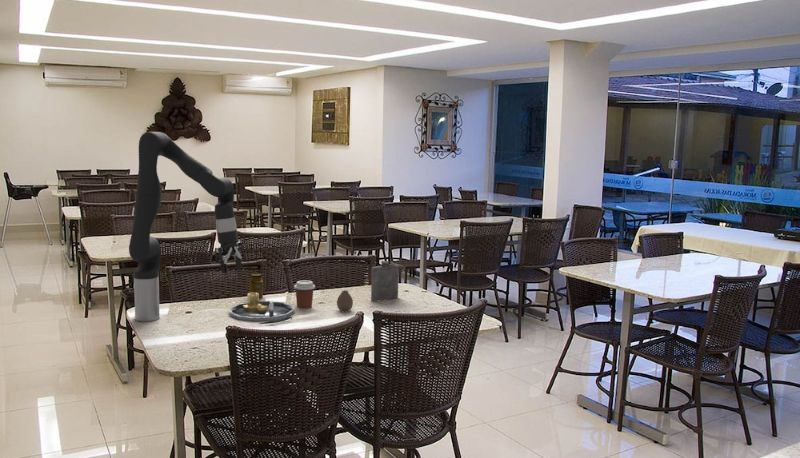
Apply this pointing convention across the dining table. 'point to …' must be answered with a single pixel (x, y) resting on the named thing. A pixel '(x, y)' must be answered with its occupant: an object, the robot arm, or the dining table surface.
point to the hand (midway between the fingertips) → (232, 271)
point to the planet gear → (252, 302)
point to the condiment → (256, 284)
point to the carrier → (264, 312)
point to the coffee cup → (304, 293)
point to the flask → (384, 281)
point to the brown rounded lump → (344, 301)
